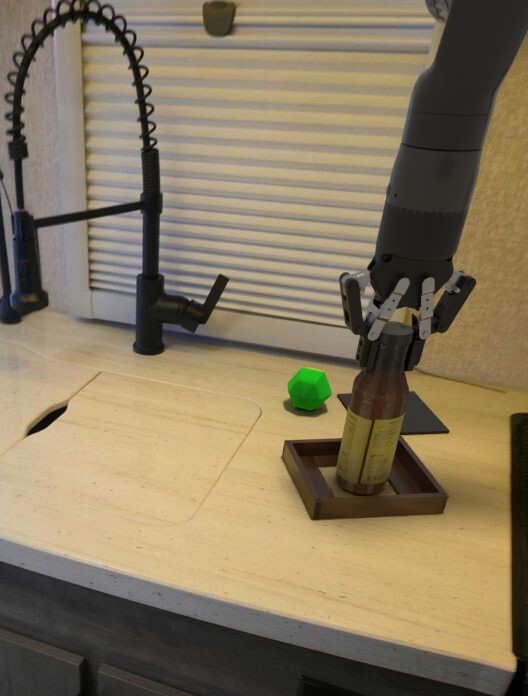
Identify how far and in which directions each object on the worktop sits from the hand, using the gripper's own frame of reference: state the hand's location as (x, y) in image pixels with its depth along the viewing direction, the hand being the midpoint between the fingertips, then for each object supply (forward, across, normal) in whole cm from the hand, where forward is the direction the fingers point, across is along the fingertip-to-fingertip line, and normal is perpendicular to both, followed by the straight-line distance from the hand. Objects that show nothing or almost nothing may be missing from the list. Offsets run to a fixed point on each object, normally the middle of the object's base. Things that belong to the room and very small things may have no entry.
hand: (385, 368), depth 73 cm
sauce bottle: (+15, 0, 0) cm, 15 cm away
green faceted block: (+15, 0, +21) cm, 26 cm away
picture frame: (+15, 0, 0) cm, 15 cm away
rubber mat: (+15, +11, +17) cm, 25 cm away
